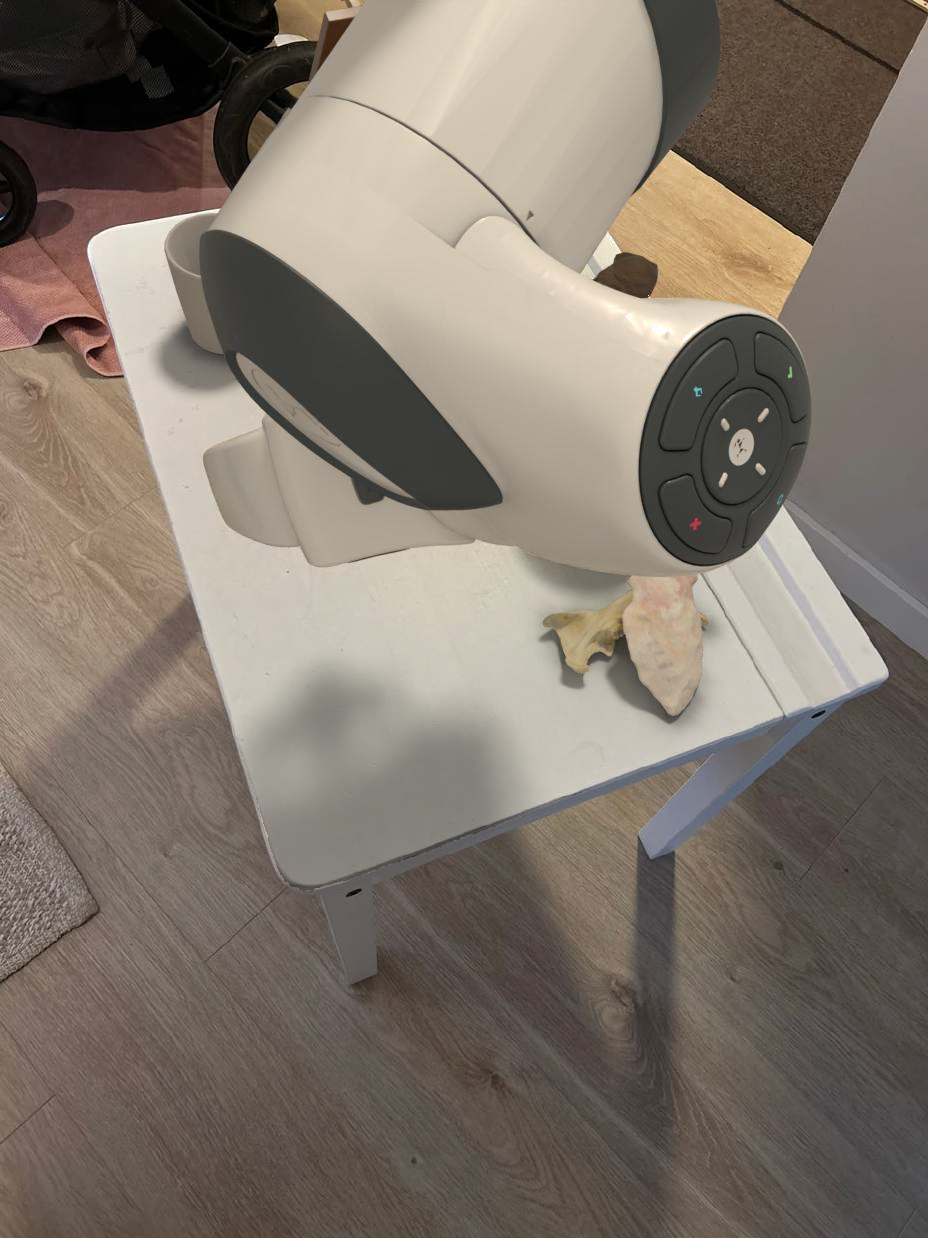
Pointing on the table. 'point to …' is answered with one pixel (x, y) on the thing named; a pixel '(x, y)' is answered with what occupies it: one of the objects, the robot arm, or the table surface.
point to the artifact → (665, 638)
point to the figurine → (630, 275)
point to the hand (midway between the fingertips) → (368, 424)
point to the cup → (191, 277)
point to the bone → (591, 631)
